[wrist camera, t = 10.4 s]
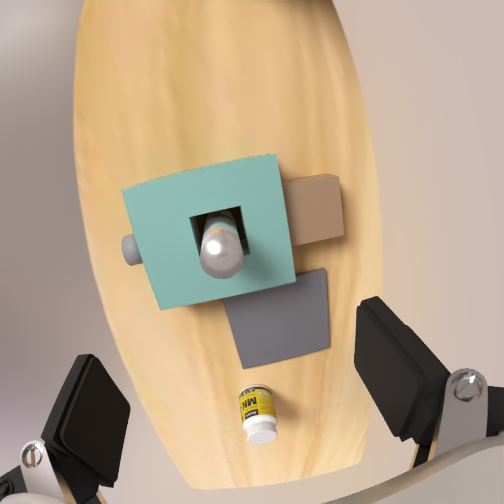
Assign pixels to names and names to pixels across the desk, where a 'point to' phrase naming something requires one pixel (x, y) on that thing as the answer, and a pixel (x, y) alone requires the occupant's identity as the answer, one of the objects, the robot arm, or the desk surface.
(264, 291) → the rubber mat
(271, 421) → the supplement bottle
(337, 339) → the desk surface
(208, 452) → the desk surface
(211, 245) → the steel pin
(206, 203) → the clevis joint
